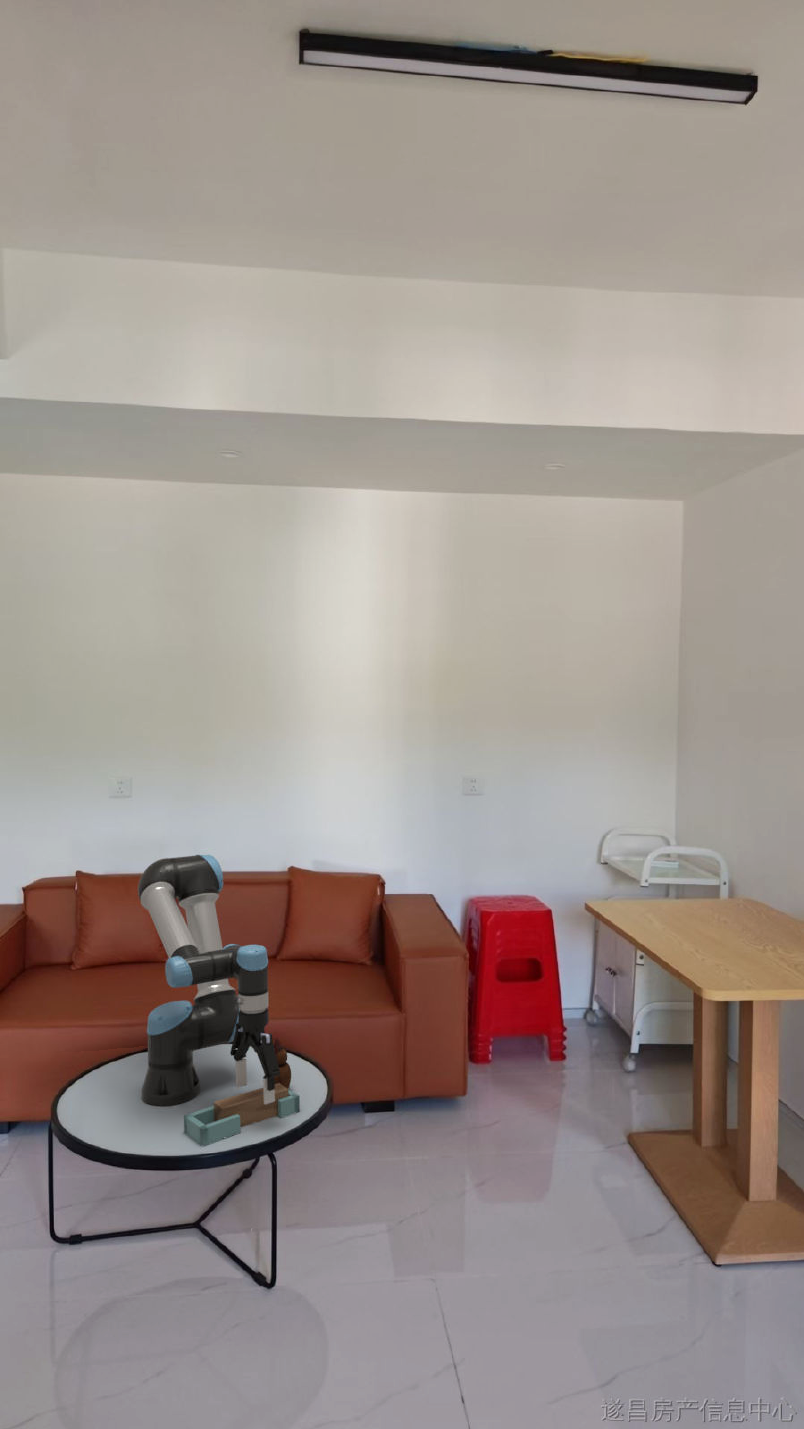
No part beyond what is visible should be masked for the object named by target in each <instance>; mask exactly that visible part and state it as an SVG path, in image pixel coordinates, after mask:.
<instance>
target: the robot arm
mask: <svg viewBox="0 0 804 1429" xmlns="http://www.w3.org/2000/svg"><path fill="white" fill-rule="evenodd" d="M223 880H224V874H223V870H222V868H221V865H220V863H219V861H218V860H217V858H215V856H213V855H210V854H196V855H195V854H194V855H188V856H178V857H177V856H176V857H170V858H169V857H166V858H161V859H158V860H156V861H154V862H153V863H151V864H150V865H149V866H147V868H146V869H144V872H142V874H141V876H140V878H139V881H138V885H137V886H138V887H137V893H138V899H139V902H140V904H141V906H142V907H143V908H144V909H145V910H147V911H148V912H149V915H150V918H151V920H152V922H153V924H154V926H155V929H156V931H157V934H158V936H159V938H160V941H161V942H162V945H163V948H164V949H165V952H166V955H167V957H168V958H167V960H166V962H165V965H164V966H165V968H164V970H165V978H166V983H167V984H168V986H169V987H170V988H185V987H191V986H196V985H197V986H196V987H197V990H198V991H197V994H195V997H193V1003H194V1005H192V1002H190V1001H189V1000H179V1001H178V1000H174V1001H173V1000H172V1001H169V1002H166V1003H162V1004H160V1005H159V1006H156V1007H155V1008H154V1009H153V1010H151V1011H150V1013H149V1015H148V1017H147V1028H146V1034H147V1061H148V1062H147V1066H148V1067H147V1071H146V1074H145V1077H144V1081H143V1084H142V1088H141V1099H142V1101H143V1102H145V1103H146V1104H148V1105H153V1106H160V1107H161V1106H162V1107H163V1106H172V1105H178V1104H183V1103H185V1102H188V1101H190V1100H192V1099H194V1098H195V1097H197V1096H198V1095H199V1094H200V1092H201V1081H200V1078H199V1076H198V1072H197V1070H196V1066H195V1064H194V1055H193V1054H194V1052H195V1051H199V1050H203V1049H207V1048H211V1047H215V1046H220V1045H227V1044H229V1043H232V1044H231V1047H230V1048H231V1049H230V1056H231V1057H232V1056H233V1059H234V1061H235V1087H236V1088H241V1087H243V1086H247V1085H248V1074H247V1073H248V1072H247V1070H248V1069H247V1068H248V1067H247V1053H248V1051H249V1049H250V1047H251V1048H252V1050H253V1051H254V1053H256V1055H257V1057H258V1059H259V1060H258V1061H259V1063H260V1065H261V1068H262V1071H263V1074H264V1075H263V1076H262V1083H263V1087H262V1088H263V1090H264V1104H265V1105H266V1104H268V1103H271V1102H274V1101H275V1076H277V1075H280V1070H279V1066H278V1062H277V1058H276V1054H275V1050H274V1049H275V1045H274V1041H273V1033H271V1032H270V1033H266V1032H265V1028H266V1026H267V1025H268V1024H269V1020H270V1018H269V1016H270V1015H269V1013H270V1012H269V1009H268V1007H269V1006H270V1005H269V977H268V976H269V972H268V971H269V970H268V969H269V967H268V965H269V959H268V950H267V947H265V946H263V945H262V944H261V945H259V944H247V945H243V946H242V945H239V944H235V943H230V944H227V945H225V946H224V947H223V944H222V942H223V941H222V937H221V932H220V925H219V920H218V915H217V908H216V902H217V901H218V899H219V898H220V892H222V891H223V887H224V881H223ZM176 899H177V901H178V903H177V901H176ZM179 906H180V907H181V908H182V909H184V910H185V911H184V912H185V916H186V921H185V918H184V917H183V914H182V912H181V910H180V907H179ZM232 978H233V979H236V980H237V993H236V988H234V987H233V986H231V985H230V982H229V979H232ZM237 994H238V995H237Z"/></svg>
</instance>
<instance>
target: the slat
mask: <svg viewBox="0 0 804 1429" xmlns="http://www.w3.org/2000/svg"><path fill="white" fill-rule="evenodd" d="M288 1089H289V1088H288ZM288 1089H287V1088H286V1087H284V1086H283V1085H281V1084H280V1083H278V1084H275V1101H274V1102H271V1103H268V1104H266V1105H265V1104H264V1090H263V1087H260V1088H258V1089H254V1090H250V1091H248V1092H247V1091H246V1092H244V1093H240V1094H237V1095H232V1096H230V1097H229V1096H228V1097H227V1098H226V1097H225V1098H222V1099H219V1100H215V1101H213V1106H214V1122H216V1121H218V1120H221V1119H224V1118H227V1117H230V1116H233V1115H236V1114H238V1115H239V1116H240V1128H243V1127H247V1126H249V1125H253V1124H255V1123H254V1122H256V1123H258V1122H262V1121H266V1120H268V1119H271V1118H274V1117H279V1116H278V1100H279V1099H282V1098H285V1097H288V1096H289V1092H288ZM261 1120H262V1121H261ZM252 1123H253V1124H252Z"/></svg>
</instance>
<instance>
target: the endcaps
mask: <svg viewBox="0 0 804 1429" xmlns="http://www.w3.org/2000/svg"><path fill="white" fill-rule="evenodd" d="M288 1092H289V1096H288V1097H285V1098H282V1099H279V1100H278V1116H277V1117H278V1118H280V1119H281V1118H282V1119H283V1118H284V1117H288V1116H291V1115H293V1113H294V1114H296V1113H298V1112H300V1111H301V1110H300V1109H301V1108H300V1106H301V1105H300V1100H301V1099H300V1095H299V1094H297V1093H296V1092H294V1091H293V1090H290V1089H289V1088H288ZM295 1112H296V1113H295ZM290 1114H291V1115H290ZM241 1128H242V1127H240V1116H239V1115H238V1114H236V1115H233V1116H230V1117H227V1118H224V1119H221V1120H218V1121H216V1122H214V1105H212V1106H209V1107H207V1108H206V1107H205V1108H204V1109H200V1110H198V1111H195V1112H191V1113H188V1114H185V1115H184V1116H183V1132H184V1133H185V1134H186V1135H187V1136H189V1137H190V1138H191V1139H192V1140H194V1141H195V1142H196V1143H197V1144H199V1145H200V1146H202V1145H203V1146H202V1147H205V1146H207V1145H208V1146H209V1145H210V1143H211V1144H213V1142H214V1143H216V1142H218V1141H217V1140H219V1141H221V1140H220V1139H222V1138H224V1137H227V1138H230V1137H233V1136H236V1135H238V1134H240V1133H241V1132H242V1130H241ZM237 1133H238V1134H237ZM235 1134H236V1135H235ZM232 1135H233V1136H232ZM222 1140H223V1139H222ZM215 1141H216V1142H215ZM204 1145H205V1146H204Z"/></svg>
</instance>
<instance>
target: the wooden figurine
mask: <svg viewBox="0 0 804 1429" xmlns="http://www.w3.org/2000/svg"><path fill="white" fill-rule="evenodd" d="M281 1043H282V1042H281V1041H280V1040H279V1037H275V1039H274V1050H275V1054H276V1058H277V1062H278V1066H279V1070H280V1075H277V1076H275V1084H278V1083H280V1084H281V1085H283V1086H284V1087H286V1088H287V1089H289V1088H290V1085H291V1081H292V1069H291V1066H290V1064H289V1062H287V1061H288V1053H287V1052H288V1051H287V1050H286V1049H285V1048H282V1044H281Z"/></svg>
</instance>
